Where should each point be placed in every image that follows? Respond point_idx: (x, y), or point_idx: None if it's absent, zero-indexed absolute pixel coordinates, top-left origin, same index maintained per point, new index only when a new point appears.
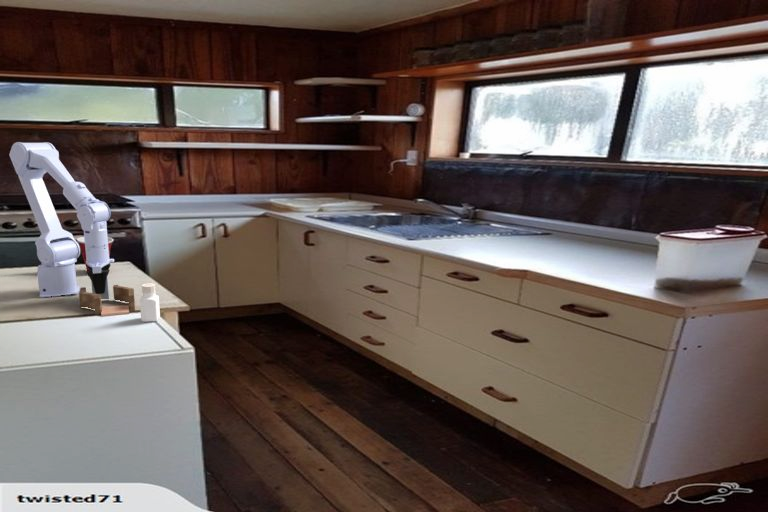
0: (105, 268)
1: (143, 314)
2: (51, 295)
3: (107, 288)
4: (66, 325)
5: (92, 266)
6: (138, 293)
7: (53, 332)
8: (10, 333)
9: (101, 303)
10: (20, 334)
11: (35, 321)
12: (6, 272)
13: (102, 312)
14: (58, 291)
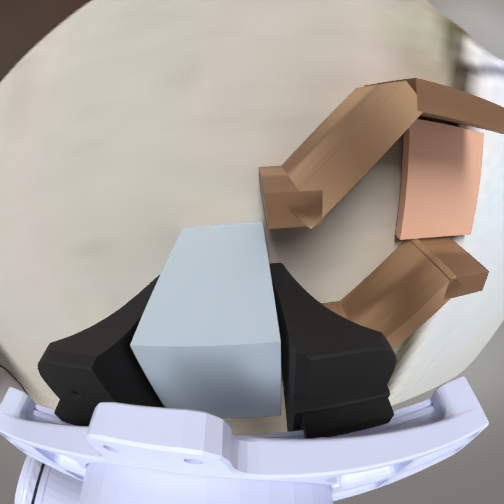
0: (124, 371)
1: None
2: None
3: (267, 260)
4: (472, 307)
5: (451, 455)
6: (148, 79)
7: (489, 318)
8: (441, 381)
9: (430, 250)
10: (458, 366)
11: (401, 376)
12: None
13: (457, 231)
14: None
